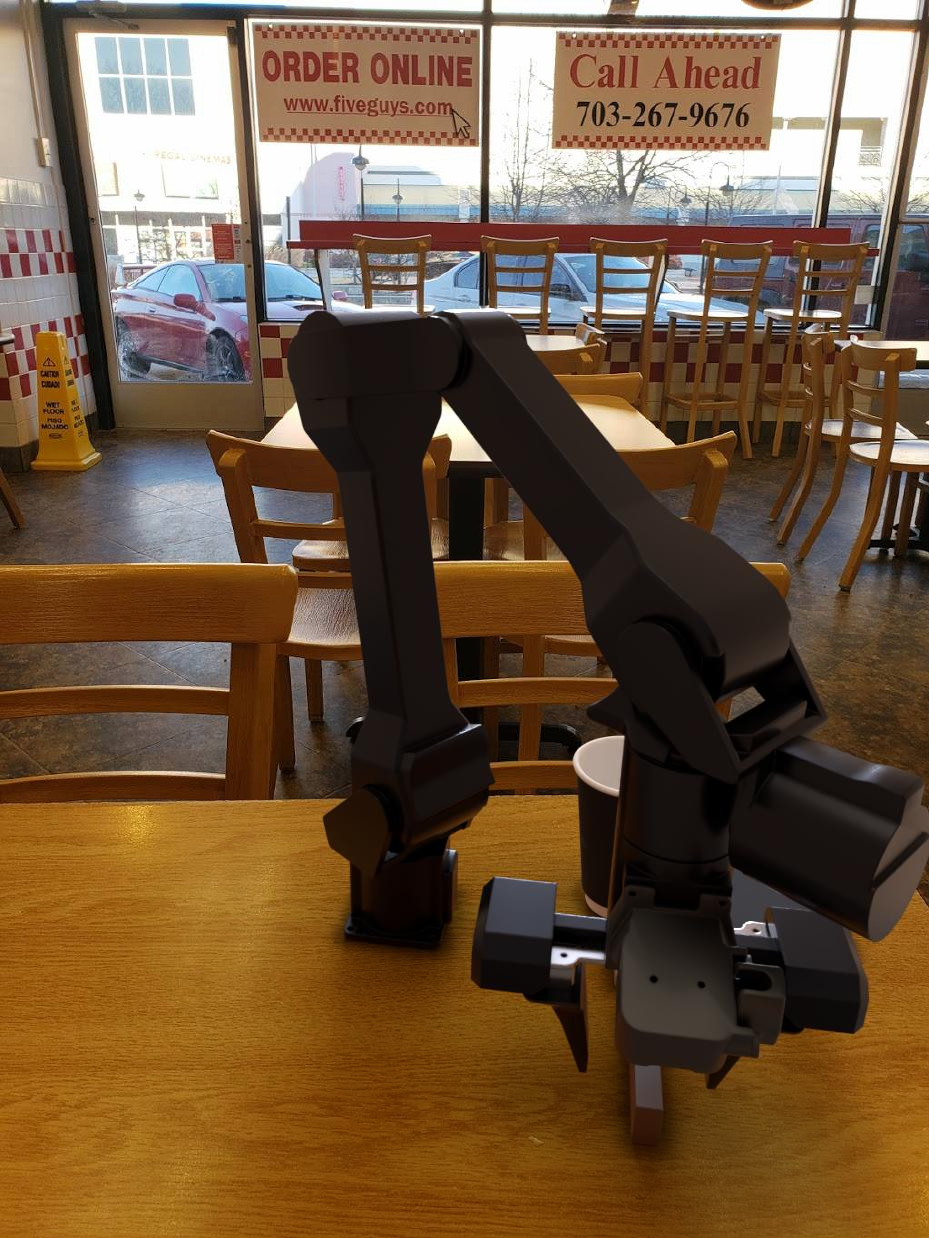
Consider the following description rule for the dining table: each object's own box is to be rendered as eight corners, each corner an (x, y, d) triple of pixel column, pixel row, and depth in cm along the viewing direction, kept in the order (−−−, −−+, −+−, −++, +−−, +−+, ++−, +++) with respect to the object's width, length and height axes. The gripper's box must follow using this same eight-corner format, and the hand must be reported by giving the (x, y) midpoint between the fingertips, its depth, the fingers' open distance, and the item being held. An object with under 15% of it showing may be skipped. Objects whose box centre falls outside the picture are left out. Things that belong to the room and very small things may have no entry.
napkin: (696, 937, 63) (696, 936, 63) (685, 850, 72) (685, 849, 72) (851, 955, 62) (852, 954, 62) (820, 864, 71) (820, 863, 71)
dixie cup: (699, 920, 65) (719, 781, 60) (599, 949, 62) (613, 805, 58) (635, 855, 71) (649, 727, 67) (543, 879, 68) (552, 746, 64)
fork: (675, 1149, 48) (681, 1112, 47) (614, 1140, 48) (618, 1104, 47) (660, 948, 62) (664, 917, 61) (613, 943, 62) (616, 912, 61)
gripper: (457, 915, 38) (450, 1186, 44) (937, 970, 36) (864, 1248, 42) (489, 776, 49) (480, 1010, 54) (864, 811, 46) (813, 1052, 52)
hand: (645, 1074), depth 50 cm, fingers open, 6 cm apart
